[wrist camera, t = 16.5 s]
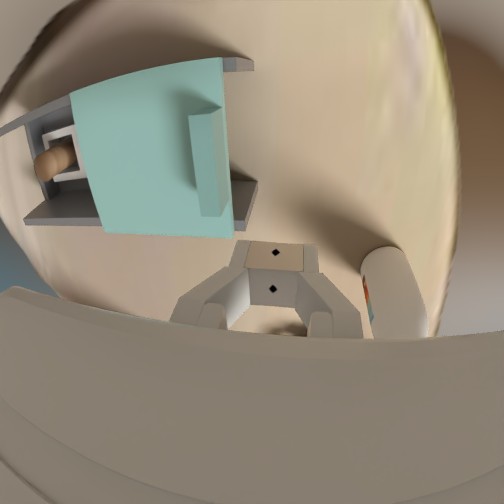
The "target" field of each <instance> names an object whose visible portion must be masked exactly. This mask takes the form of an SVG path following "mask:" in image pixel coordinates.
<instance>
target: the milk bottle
mask: <svg viewBox="0 0 504 504" xmlns="http://www.w3.org/2000/svg"><path fill="white" fill-rule="evenodd" d="M360 272H361V278H362V283H363V288H364V293H365V298H366V303H367V309H368V314H369V319H370V324H371V329H372V333H373V336H374V339H396V338H425V337H427V335H428V326H429V324H428V316H427V311H426V308H425V304H424V301H423V298H422V295H421V292H420V290H419V287H418V284H417V281H416V279H415V276H414V274H413V271H412V269H411V266H410V264H409V262H408V259H407V257H406V255H405V254H404V253H403V252H402V251H401V250H399V249H397V248H395V247H390V246H386V247H381V248H377V249H375V250H373V251H372V252H370V253H369V254H368V255H367V256H366V257H365V259H364V260H363V262H362V265H361V270H360Z"/></svg>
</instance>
